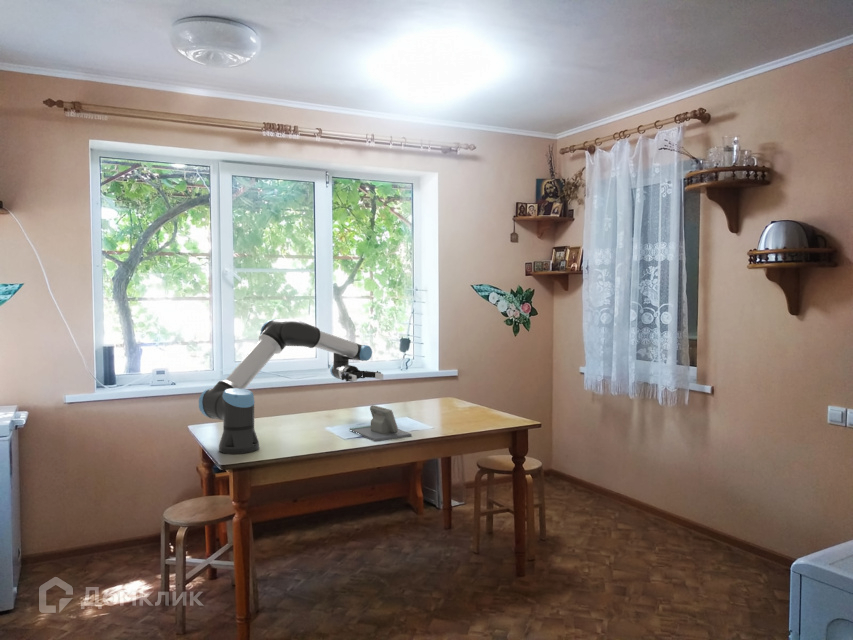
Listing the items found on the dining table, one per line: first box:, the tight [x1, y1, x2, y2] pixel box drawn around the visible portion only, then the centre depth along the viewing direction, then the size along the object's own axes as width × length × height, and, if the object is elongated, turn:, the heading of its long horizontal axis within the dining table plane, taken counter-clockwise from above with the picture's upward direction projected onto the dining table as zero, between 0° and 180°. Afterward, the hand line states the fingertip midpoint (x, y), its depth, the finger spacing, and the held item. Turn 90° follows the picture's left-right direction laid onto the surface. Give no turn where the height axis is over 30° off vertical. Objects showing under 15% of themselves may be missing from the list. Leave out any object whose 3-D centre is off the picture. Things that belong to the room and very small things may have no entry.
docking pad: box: [349, 425, 412, 442], centre depth 264 cm, size 18×24×1 cm
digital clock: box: [369, 405, 399, 434], centre depth 265 cm, size 16×9×11 cm, turn 26°
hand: (369, 377), depth 273 cm, fingers open, 13 cm apart
